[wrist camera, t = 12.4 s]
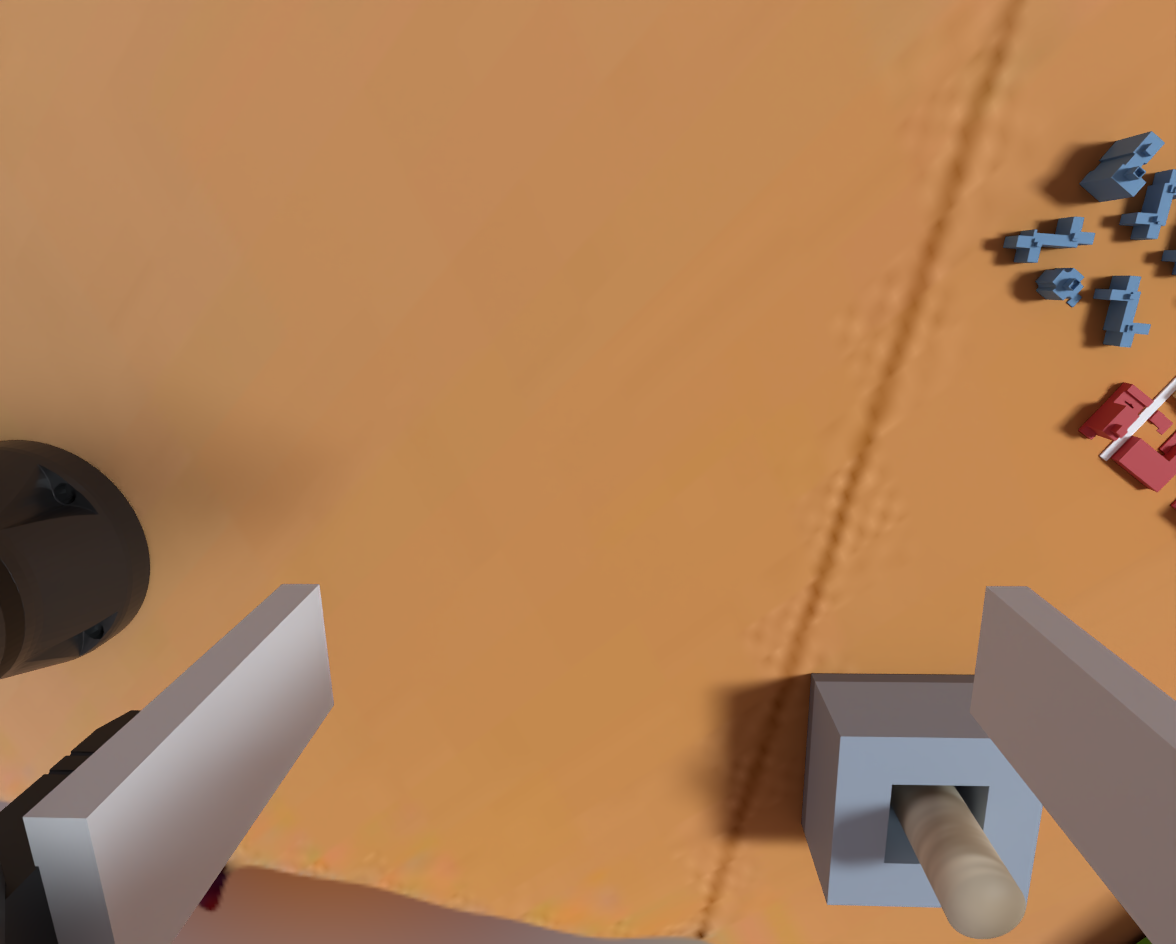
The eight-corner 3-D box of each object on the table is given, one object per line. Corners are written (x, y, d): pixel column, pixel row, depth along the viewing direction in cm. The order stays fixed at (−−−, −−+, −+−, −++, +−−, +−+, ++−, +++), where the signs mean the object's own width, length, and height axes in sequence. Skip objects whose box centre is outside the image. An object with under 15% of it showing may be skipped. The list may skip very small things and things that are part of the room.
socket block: (801, 823, 52) (827, 904, 46) (811, 673, 49) (840, 736, 43) (973, 827, 52) (1025, 909, 45) (994, 675, 49) (1053, 739, 42)
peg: (870, 785, 50) (941, 937, 39) (875, 734, 49) (950, 874, 38) (930, 787, 50) (1020, 940, 38) (936, 736, 49) (1031, 877, 37)
